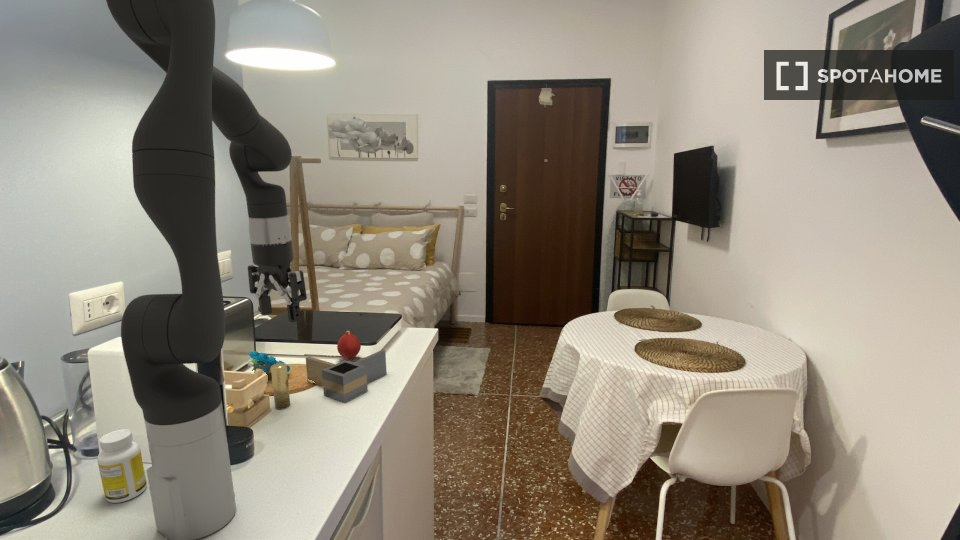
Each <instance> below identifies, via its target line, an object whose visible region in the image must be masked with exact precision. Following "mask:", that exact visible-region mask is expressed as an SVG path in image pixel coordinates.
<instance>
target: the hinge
mask: <svg viewBox="0 0 960 540" xmlns="http://www.w3.org/2000/svg"><path fill="white" fill-rule="evenodd" d="M386 355H387V354H386V350H385V349H381V350H379V351H376V352H374V353H372V354H370V355H368V356H366V357H363V358H360V359H359V360H356V361H354V362H353V361H351V360H347V359H344V360H342V361H339V362H338V363H333V362H329V361H327V360H322V359H319V358H316V357H313V356H307V357H305V368H306V376H307V377H306V378H307V380H308V379H309V380H312V381H314V382H315V383H316V384H317V385H316V386H318V387H321V386H322V387H321V388H322V389H323V396H324V397H325V398H326V397H327V398H330V399H332V400H335V401H338V402H340V403H344V404H346V403H348V402H350V401H352V400H353V399H355V398H357V397H359V396H361V395H364V394H365V393H367V392H369V390H368V385H369V384H370V383H373V382H375V381H376V380H379V379H380V378H382V377H384V376H386V375H387V357H386Z"/></svg>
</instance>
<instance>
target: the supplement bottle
mask: <svg viewBox="0 0 960 540" xmlns="http://www.w3.org/2000/svg"><path fill="white" fill-rule="evenodd" d="M133 439H134V437H133V434H132V430H131V429H128V428H125V429H124V428H122V429H118V430H113V431H111V432H108V433H105V434H104V435H103V436H101V437H100V439H99V446H100V449H101V451H100V452H99V454H98V455H97V466H98V470H99V477H100V479H101V483H102V490H103V493H104V497H105V500H106V501H107V502H109V503H113V504H114V503H116V504H117V503H123V502H128V501H129V500H131V499H134V498H136V497H137V496H139V495H141V494H142V493H143V492H144V491H145V490H146V488H147V485H148V483H147V482H148V481H147V476H146V473H145V468H144V467H145V466H144V462H143V457H142V450H141V447H140V445H139V443H138V442H135V441H133Z"/></svg>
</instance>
